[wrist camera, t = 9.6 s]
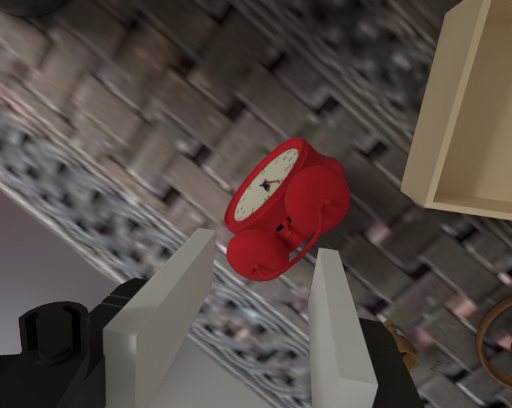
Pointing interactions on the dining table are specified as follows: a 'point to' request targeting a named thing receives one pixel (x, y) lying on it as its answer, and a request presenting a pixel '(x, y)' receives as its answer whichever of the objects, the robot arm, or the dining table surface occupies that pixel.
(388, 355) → the robot arm
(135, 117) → the dining table surface
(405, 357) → the place setting
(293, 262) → the alarm clock
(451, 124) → the box
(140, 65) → the dining table surface
